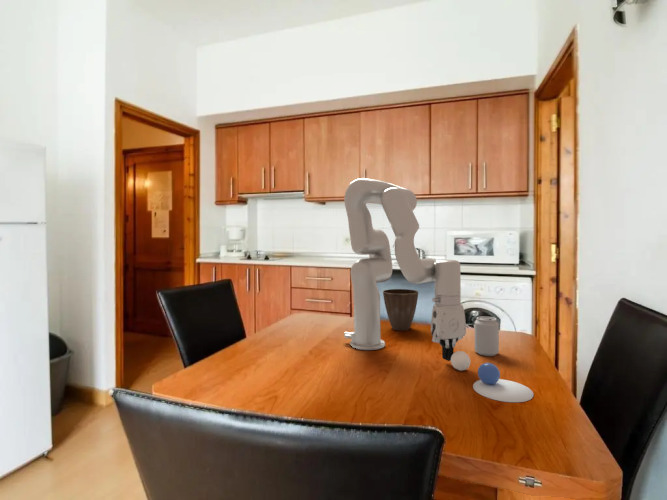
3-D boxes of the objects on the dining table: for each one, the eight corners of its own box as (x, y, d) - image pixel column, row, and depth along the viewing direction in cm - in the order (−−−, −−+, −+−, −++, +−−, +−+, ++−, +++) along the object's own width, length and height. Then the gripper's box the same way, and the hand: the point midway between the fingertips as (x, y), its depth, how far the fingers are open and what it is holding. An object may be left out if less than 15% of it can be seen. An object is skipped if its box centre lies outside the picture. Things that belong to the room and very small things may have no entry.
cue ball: (448, 352, 108) (451, 372, 107) (467, 351, 106) (471, 371, 105) (450, 351, 113) (453, 369, 112) (469, 349, 111) (472, 368, 110)
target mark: (471, 397, 91) (471, 396, 91) (474, 376, 104) (474, 375, 104) (536, 406, 85) (536, 405, 85) (530, 383, 98) (530, 382, 98)
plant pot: (383, 323, 167) (382, 288, 166) (417, 324, 165) (416, 288, 164) (383, 332, 152) (382, 293, 151) (420, 333, 150) (420, 294, 149)
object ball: (470, 368, 100) (484, 383, 95) (486, 355, 99) (500, 369, 95) (477, 377, 103) (491, 392, 98) (492, 364, 102) (507, 378, 98)
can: (501, 357, 119) (501, 320, 119) (476, 356, 121) (476, 319, 120) (495, 350, 127) (495, 315, 126) (472, 349, 128) (472, 315, 128)
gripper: (435, 304, 107) (435, 367, 108) (475, 300, 113) (475, 359, 113) (419, 300, 114) (420, 359, 115) (458, 296, 120) (458, 352, 120)
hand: (447, 359), depth 114 cm, fingers closed
